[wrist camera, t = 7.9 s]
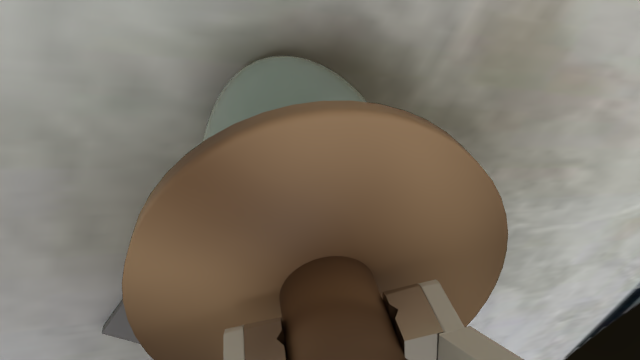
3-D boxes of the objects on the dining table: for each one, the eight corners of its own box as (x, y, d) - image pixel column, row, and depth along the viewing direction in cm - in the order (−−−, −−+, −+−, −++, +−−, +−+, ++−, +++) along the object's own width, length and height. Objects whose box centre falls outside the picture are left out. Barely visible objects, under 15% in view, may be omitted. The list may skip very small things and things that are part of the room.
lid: (320, 406, 18) (346, 542, 14) (48, 303, 12) (-28, 481, 9) (549, 237, 15) (659, 354, 11) (322, -1, 9) (390, 71, 5)
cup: (238, 7, 20) (248, 90, 11) (380, 73, 23) (469, 177, 14) (184, 148, 23) (162, 291, 15) (314, 190, 26) (356, 328, 18)
